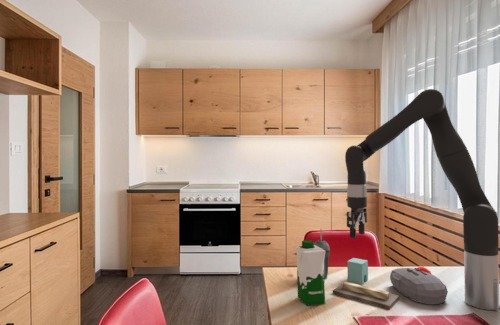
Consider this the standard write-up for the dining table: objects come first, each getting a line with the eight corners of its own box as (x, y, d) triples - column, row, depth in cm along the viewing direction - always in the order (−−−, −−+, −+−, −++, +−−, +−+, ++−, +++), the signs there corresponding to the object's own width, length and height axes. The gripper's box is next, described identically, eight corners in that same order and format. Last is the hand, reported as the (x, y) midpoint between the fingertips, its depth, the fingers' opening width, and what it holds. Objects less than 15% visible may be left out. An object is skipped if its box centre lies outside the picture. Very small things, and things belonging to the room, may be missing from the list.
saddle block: (368, 280, 130) (367, 260, 130) (362, 284, 125) (362, 264, 125) (353, 277, 134) (353, 257, 134) (347, 281, 129) (347, 261, 129)
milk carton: (316, 293, 117) (315, 238, 117) (329, 304, 108) (328, 244, 108) (294, 296, 115) (293, 240, 115) (305, 307, 106) (304, 247, 106)
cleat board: (399, 299, 112) (399, 290, 112) (389, 309, 104) (389, 299, 104) (344, 285, 125) (344, 277, 125) (332, 293, 117) (332, 284, 117)
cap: (431, 278, 122) (435, 267, 126) (415, 270, 125) (419, 259, 129) (426, 290, 127) (429, 278, 131) (410, 282, 130) (414, 271, 133)
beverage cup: (311, 279, 131) (310, 230, 131) (313, 273, 138) (312, 227, 138) (330, 281, 129) (329, 231, 129) (331, 275, 136) (330, 227, 136)
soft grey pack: (384, 285, 125) (417, 308, 105) (384, 263, 125) (416, 283, 105) (420, 283, 126) (459, 305, 107) (420, 261, 126) (459, 280, 107)
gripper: (358, 197, 122) (359, 240, 122) (372, 194, 132) (373, 234, 132) (340, 196, 127) (340, 237, 127) (355, 193, 137) (355, 231, 137)
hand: (357, 235), depth 130 cm, fingers open, 8 cm apart
